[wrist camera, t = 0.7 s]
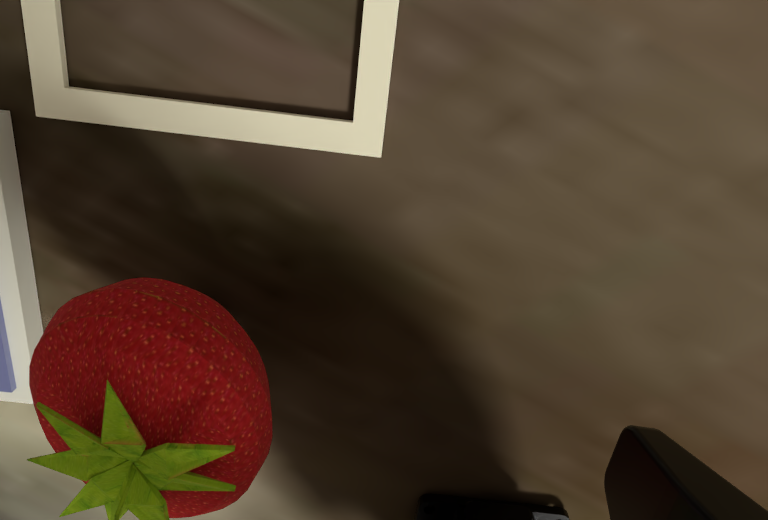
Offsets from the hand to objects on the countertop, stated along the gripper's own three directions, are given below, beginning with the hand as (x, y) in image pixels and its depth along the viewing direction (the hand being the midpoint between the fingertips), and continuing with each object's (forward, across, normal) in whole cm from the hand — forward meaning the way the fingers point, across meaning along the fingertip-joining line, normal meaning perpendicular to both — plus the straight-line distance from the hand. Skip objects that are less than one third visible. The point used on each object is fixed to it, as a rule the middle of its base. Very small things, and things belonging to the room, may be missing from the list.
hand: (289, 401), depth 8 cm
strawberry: (+13, +4, +6) cm, 15 cm away
